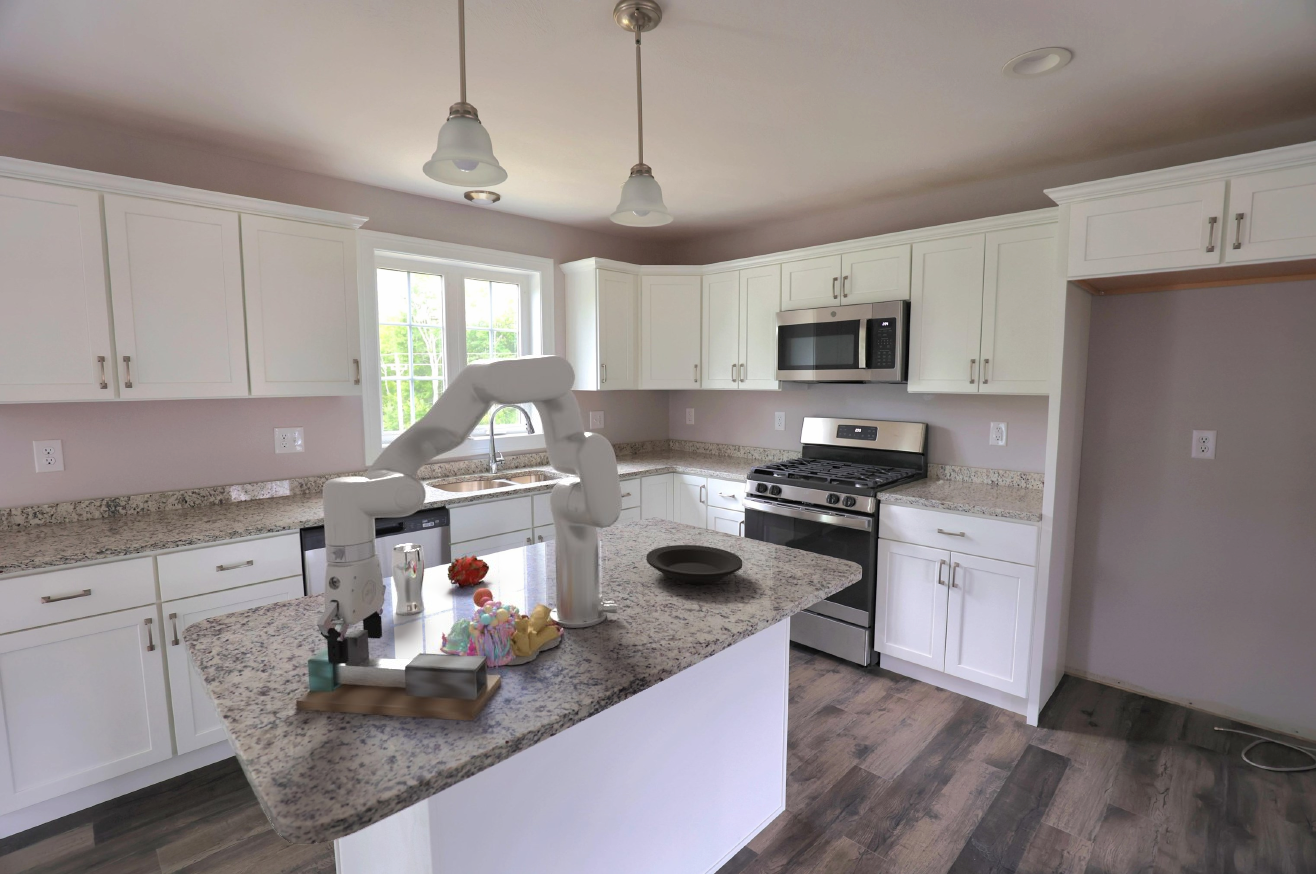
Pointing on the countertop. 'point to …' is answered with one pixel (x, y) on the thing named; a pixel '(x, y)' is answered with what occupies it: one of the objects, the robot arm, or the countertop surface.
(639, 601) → the countertop surface
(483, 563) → the dragon fruit
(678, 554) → the plate
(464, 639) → the candy landscape model
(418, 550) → the beer glass
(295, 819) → the countertop surface
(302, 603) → the countertop surface
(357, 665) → the inner tube
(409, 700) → the tube rig
